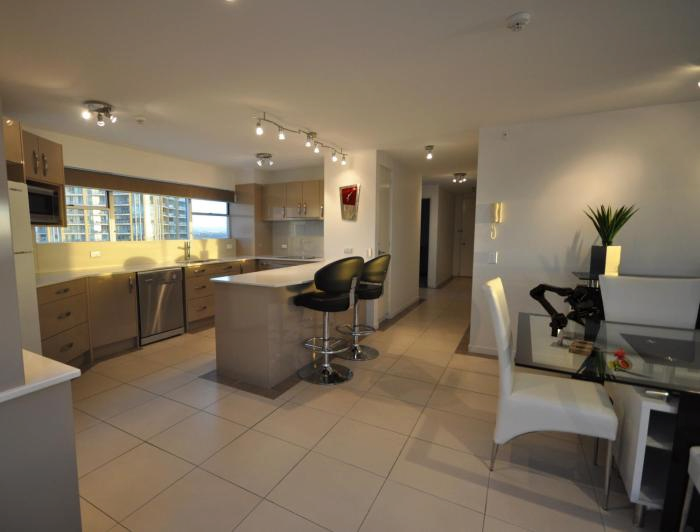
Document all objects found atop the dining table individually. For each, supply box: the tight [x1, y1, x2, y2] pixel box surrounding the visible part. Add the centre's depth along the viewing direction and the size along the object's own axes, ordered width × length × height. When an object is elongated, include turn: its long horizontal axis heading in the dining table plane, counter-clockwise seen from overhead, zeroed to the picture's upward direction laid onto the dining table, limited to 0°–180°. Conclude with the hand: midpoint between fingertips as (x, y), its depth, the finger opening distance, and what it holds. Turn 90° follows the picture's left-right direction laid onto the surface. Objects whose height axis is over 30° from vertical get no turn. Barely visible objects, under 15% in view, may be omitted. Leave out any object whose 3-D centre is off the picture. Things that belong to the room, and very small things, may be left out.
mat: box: [549, 341, 571, 350], centre depth 205 cm, size 9×10×1 cm
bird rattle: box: [608, 348, 634, 372], centre depth 168 cm, size 6×11×9 cm
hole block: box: [568, 338, 595, 357], centre depth 198 cm, size 10×20×3 cm, turn 138°
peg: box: [556, 328, 565, 346], centre depth 205 cm, size 3×3×10 cm
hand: (591, 325), depth 199 cm, fingers open, 9 cm apart
